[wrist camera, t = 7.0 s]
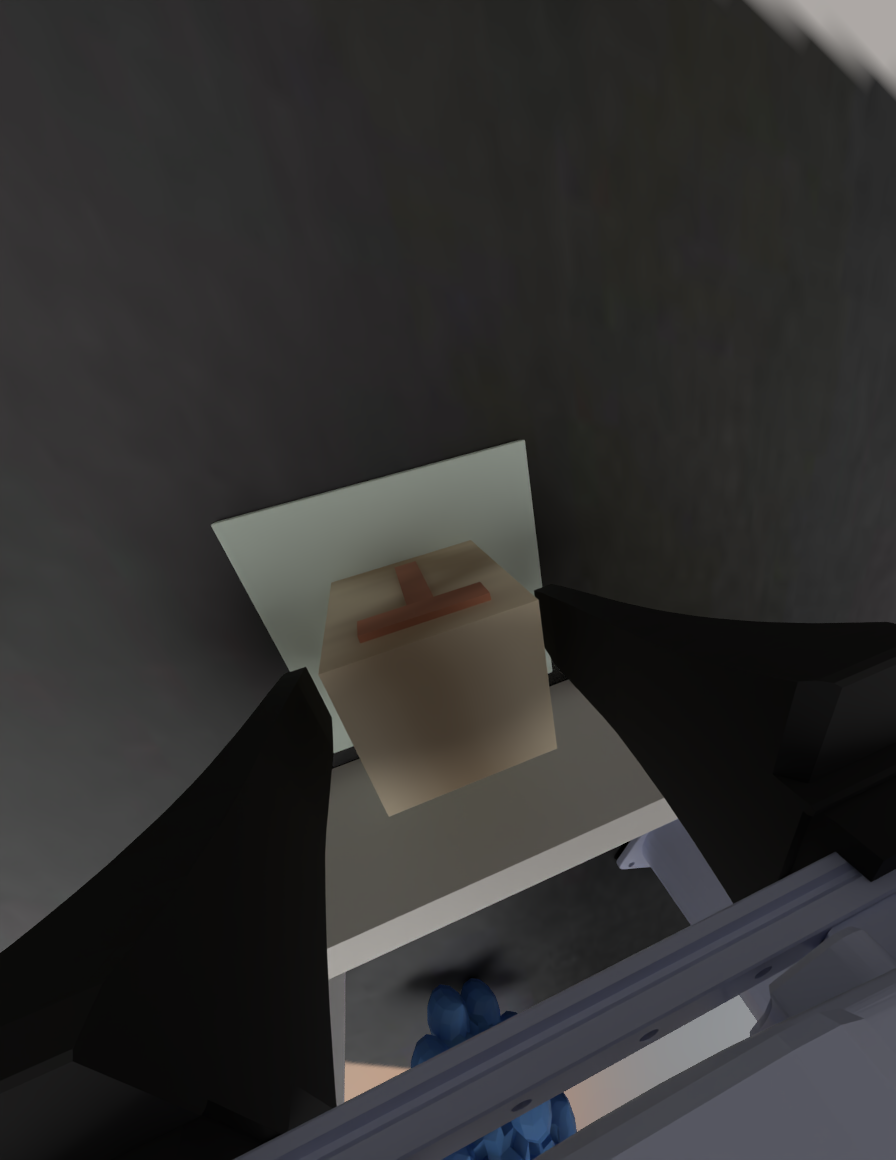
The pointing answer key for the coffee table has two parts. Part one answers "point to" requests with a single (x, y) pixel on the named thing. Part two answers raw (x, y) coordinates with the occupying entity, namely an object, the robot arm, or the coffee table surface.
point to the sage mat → (378, 542)
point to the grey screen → (478, 835)
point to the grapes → (462, 1017)
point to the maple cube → (437, 673)
